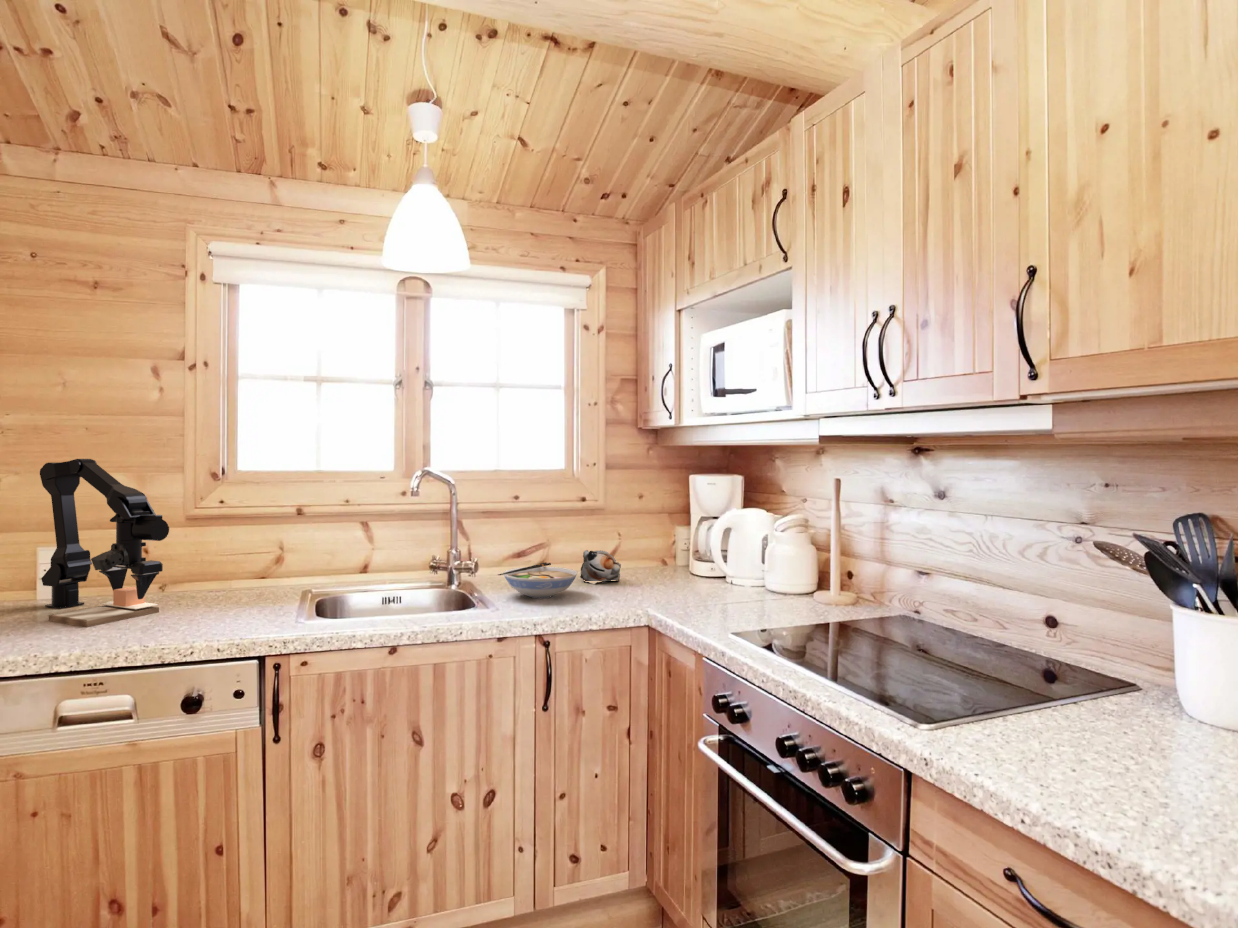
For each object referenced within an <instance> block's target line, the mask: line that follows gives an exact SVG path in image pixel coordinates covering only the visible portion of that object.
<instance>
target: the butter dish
mask: <svg viewBox="0 0 1238 928" xmlns="http://www.w3.org/2000/svg"><path fill="white" fill-rule="evenodd" d="M112 593H113V594H112V595H113V596H112V598H113V600H112V601H107V602H101V603H100V605H101V606H104V605H109V606H116V607H122V608H129V609H140V608H145V607H150V606H153V607H156V606H158V605H159V604H157V603H152V602H146V595H145V596H144V597H143V599H138V597H137V589H136V586H127V587H123V588H121V589H115V590H113V589H112Z"/></svg>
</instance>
